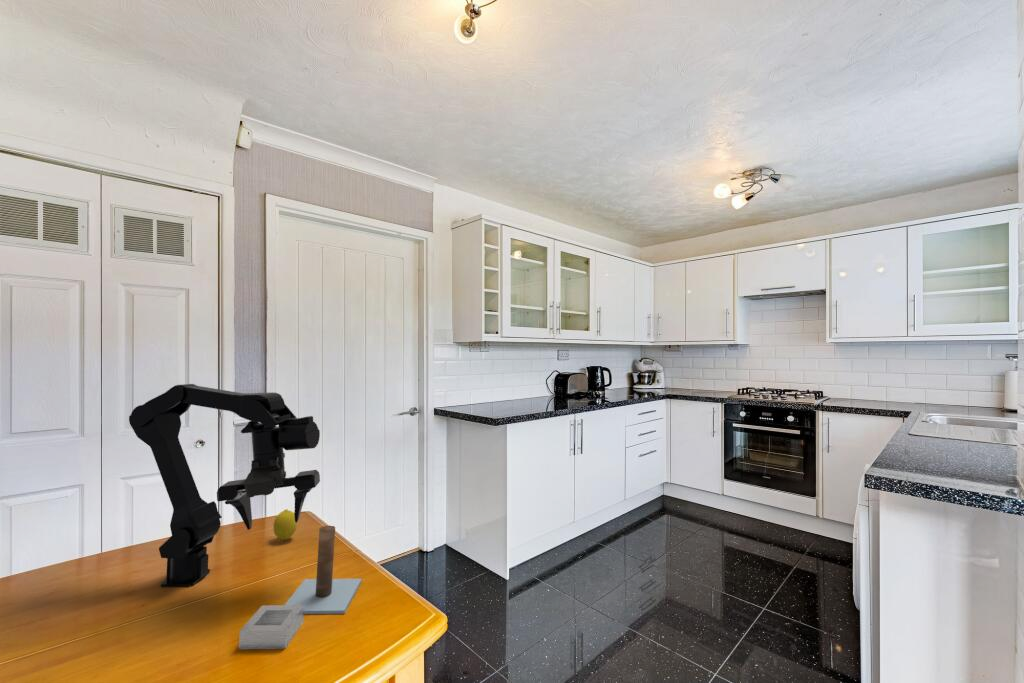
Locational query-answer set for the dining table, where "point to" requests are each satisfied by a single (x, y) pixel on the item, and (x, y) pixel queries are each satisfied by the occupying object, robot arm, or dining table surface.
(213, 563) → the dining table surface
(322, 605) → the rubber mat
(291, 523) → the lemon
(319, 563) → the walnut rod
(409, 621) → the dining table surface
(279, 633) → the collar
